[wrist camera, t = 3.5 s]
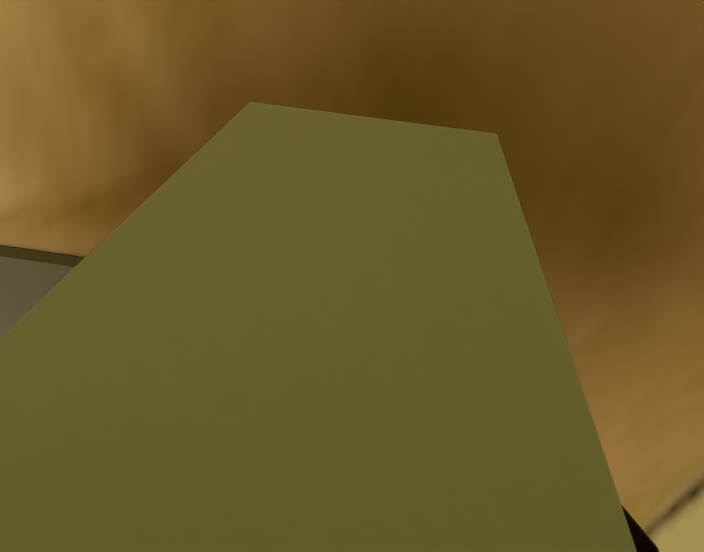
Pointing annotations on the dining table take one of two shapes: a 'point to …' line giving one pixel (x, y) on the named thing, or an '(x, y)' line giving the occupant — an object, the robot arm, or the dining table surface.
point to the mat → (28, 280)
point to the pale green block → (306, 361)
